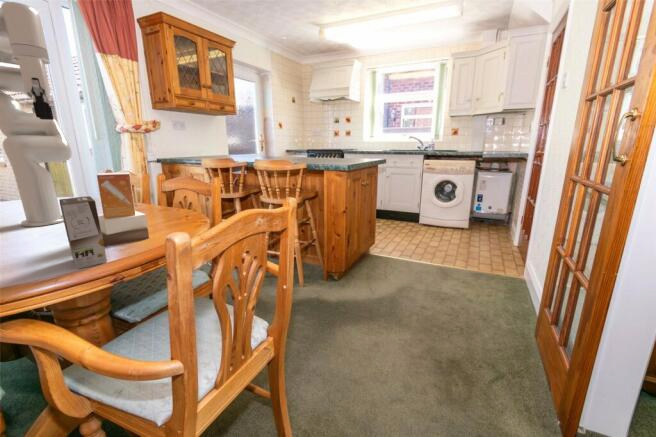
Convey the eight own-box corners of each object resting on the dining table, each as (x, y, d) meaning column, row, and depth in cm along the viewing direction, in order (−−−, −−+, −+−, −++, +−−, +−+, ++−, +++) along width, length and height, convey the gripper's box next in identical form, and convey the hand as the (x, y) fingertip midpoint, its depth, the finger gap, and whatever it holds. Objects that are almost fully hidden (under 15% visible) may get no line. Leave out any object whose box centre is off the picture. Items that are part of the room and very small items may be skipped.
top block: (95, 228, 93) (92, 215, 92) (134, 220, 101) (132, 209, 100) (107, 234, 86) (104, 221, 85) (147, 226, 94) (145, 214, 93)
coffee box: (108, 262, 75) (96, 200, 71) (75, 269, 71) (60, 204, 67) (102, 252, 81) (90, 195, 77) (72, 259, 77) (57, 198, 73)
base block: (100, 238, 95) (97, 226, 94) (143, 231, 103) (141, 220, 102) (102, 248, 86) (100, 235, 85) (149, 240, 94) (147, 228, 93)
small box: (103, 218, 88) (95, 174, 85) (105, 214, 93) (97, 172, 90) (136, 215, 92) (129, 173, 89) (135, 211, 97) (129, 171, 94)
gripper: (17, 59, 88) (31, 119, 92) (6, 45, 75) (23, 116, 79) (50, 63, 93) (63, 120, 97) (46, 50, 80) (60, 117, 84)
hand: (45, 118), depth 88 cm, fingers open, 9 cm apart
